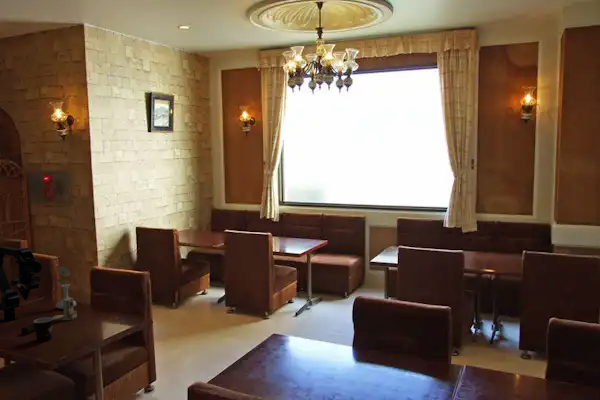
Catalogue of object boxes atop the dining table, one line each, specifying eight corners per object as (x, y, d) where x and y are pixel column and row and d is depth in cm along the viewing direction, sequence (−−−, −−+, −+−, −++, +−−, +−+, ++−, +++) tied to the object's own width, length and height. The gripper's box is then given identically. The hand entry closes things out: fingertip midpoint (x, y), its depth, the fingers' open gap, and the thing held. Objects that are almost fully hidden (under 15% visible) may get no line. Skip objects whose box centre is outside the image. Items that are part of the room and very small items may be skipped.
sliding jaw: (62, 317, 278) (61, 300, 277) (66, 314, 284) (66, 297, 283) (66, 317, 278) (65, 300, 277) (71, 314, 284) (70, 297, 283)
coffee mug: (40, 344, 243) (39, 324, 242) (30, 340, 247) (29, 321, 246) (63, 336, 252) (62, 317, 251) (53, 333, 257) (52, 314, 256)
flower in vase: (80, 306, 303) (79, 266, 301) (63, 311, 294) (61, 269, 291) (67, 303, 310) (66, 263, 308) (50, 308, 301) (48, 267, 298)
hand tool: (27, 335, 255) (27, 326, 255) (20, 334, 256) (20, 326, 256) (54, 323, 273) (54, 315, 273) (48, 323, 274) (48, 314, 274)
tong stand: (50, 320, 278) (49, 301, 277) (55, 316, 284) (54, 297, 283) (72, 319, 278) (71, 300, 278) (76, 316, 284) (76, 297, 284)
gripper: (48, 270, 273) (49, 298, 275) (29, 266, 283) (30, 293, 285) (28, 274, 264) (29, 303, 265) (9, 270, 274) (10, 298, 275)
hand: (25, 299), depth 273 cm, fingers closed
